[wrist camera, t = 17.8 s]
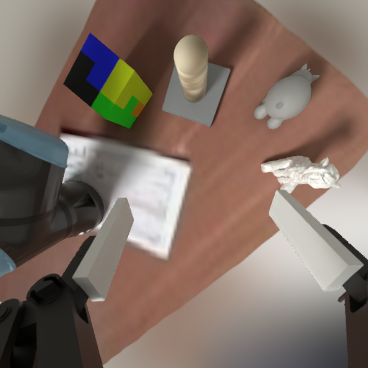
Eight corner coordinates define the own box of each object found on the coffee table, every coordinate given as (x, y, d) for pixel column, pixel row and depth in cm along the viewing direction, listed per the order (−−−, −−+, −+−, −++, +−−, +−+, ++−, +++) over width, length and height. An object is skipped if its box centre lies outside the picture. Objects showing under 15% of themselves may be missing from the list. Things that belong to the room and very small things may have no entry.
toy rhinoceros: (299, 100, 35) (342, 68, 26) (271, 136, 33) (308, 114, 24) (276, 79, 35) (312, 40, 26) (246, 114, 32) (276, 84, 24)
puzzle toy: (120, 66, 36) (90, 32, 26) (153, 94, 36) (134, 70, 26) (99, 102, 38) (63, 83, 28) (129, 128, 38) (104, 118, 28)
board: (163, 111, 36) (161, 109, 35) (178, 56, 34) (177, 52, 33) (210, 126, 36) (210, 125, 34) (229, 72, 33) (230, 69, 32)
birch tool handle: (180, 98, 34) (169, 68, 22) (188, 75, 33) (180, 30, 21) (201, 105, 34) (201, 78, 22) (209, 81, 33) (213, 40, 21)
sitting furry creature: (257, 165, 36) (284, 169, 24) (291, 142, 34) (337, 135, 22) (279, 197, 37) (315, 215, 25) (313, 176, 35) (370, 186, 23)
